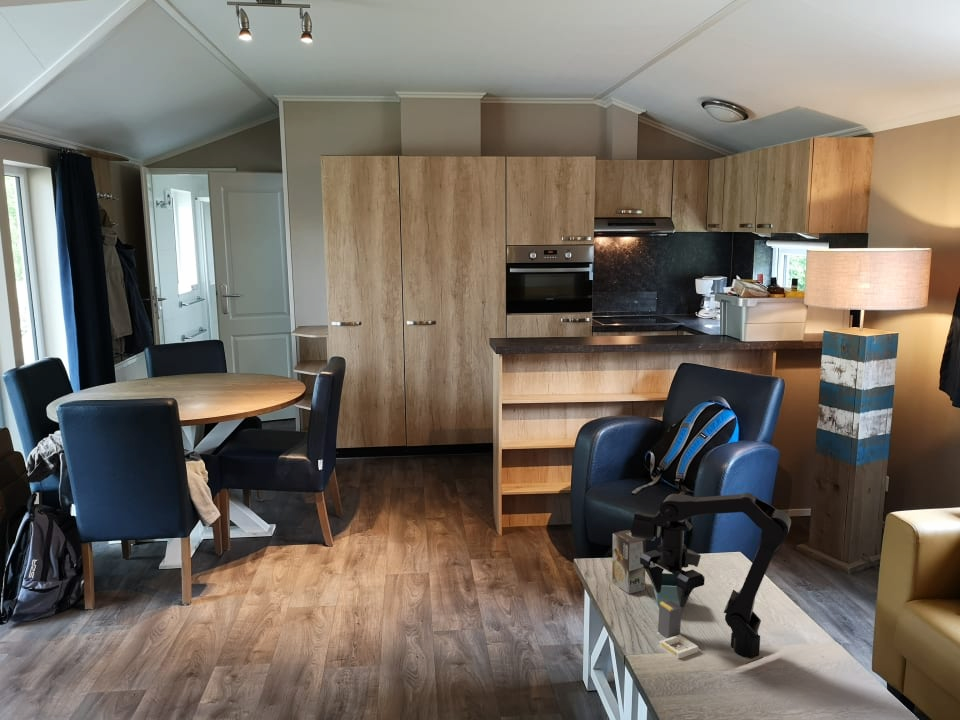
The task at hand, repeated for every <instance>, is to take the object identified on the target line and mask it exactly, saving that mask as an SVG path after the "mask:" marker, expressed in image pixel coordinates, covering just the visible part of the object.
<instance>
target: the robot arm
mask: <svg viewBox="0 0 960 720" xmlns="http://www.w3.org/2000/svg"><path fill="white" fill-rule="evenodd" d="M733 513H734V514H735V513H742V514H745V516H747V517H748V518H749V519H750V520H751V521H752V522H753V523H754V524H755V526H756V527H758V528H759V529H760V530H762V531H761V536H760V540H759V541H760V542H759V545H758V548H757V551H756V554H755V556H754V558H753V560H752V563H751V566H750V568H749V570H748V572H747V575H746V577H745V579H744V582H743V584H742V587H741V588H740V589H739V591H736V590H735V589H732V591H731V594H730V596H729V599H728V601H727V603H726V605H725V608H724V610H723V614H725V616H724V620H725V623H726V624H727V626H728V627H729V628H730V630H731V633H730V634H731V635H730V648H731V649H733V652H734V653H735V654H736V655H738V656H740V657H743V658H747V659H749V660H750V659H751V661H749V662H746V663H745V664H749V663H752V662H755V661H758V660H760V659H763V658H764V656H762V657H760V658H757V657H759V656H760V652H761V650H760V648H761V646H760V644H761V635H760V634H759V632H758V631H759V629H760V625H761V623H762V620H761V619H760V617H759V616H758V615H757V614H756V613H755V611H754V606H755V603H756V602H755V601H756V597H757V594H758V591H759V589H760V587H761V585H762V582H763V580H764V577H765V575H766V572H767V570H768V568H769V565H770V563H771V561H772V558H773V557H774V554H775V553H776V551H777V550H778V549H779V548H780V546H781V545H782V543H783V542H784V540H785V539H786V538H787V536H788V534H789V532H790V528H791V524H792V519H791V518H790V515H789V514H788V512H785V511H784V510H780V509H777V508H775V507H774V506H773V505H772V504H770V503H768V502H766V501H765V500H764V501H763V500H762V499H759V498H758V497H757V496H755V495H754V494H753V493H750V492H744V493H740V494H725V495H714V496H713V495H712V496H700V497H699V496H691V495H689V494H681V493H680V494H679V493H672V494H669V495H668V496H666V498H665V499H664V500H663V502H662V503H661V504H660V507H659V510H658V511H657V512H656V513H655V514H650V513H645V512H641V511H636V512H635V513H634V515H633V520H632V524H631V527H630V531H631V535H632V537H634V538H640V539H646V541H647V540H648V541H653V542H654V541H655V540H656V538H659V537H660V545H657V547H656V549H653V550H650V551H646V552H645V553H643V554H642V555H641V556H640V564H642V565H643V568H644V569H645V573H646V574H647V575H648V578H649V579H650V581H651V583H652V586H653V589H654V588H655V590H656V592H657V593H660V592H661V585H662V573H664V571H666V572H667V573H673V574H674V575H676V576H677V583H678V584H677V585H676V588H677V593H678V598H679V603H680V606H681V607H683V608H684V607H685V606H686V604H687V602H688V600H689V598H690V595H691V593H692V592H693V590H694V589H696V588H699V587H702V586H705V576H704V575H703V574H702V573H700V572H699V571H697V570H695V569H690V570H683V568H684V569H686V568H689V566H694V567H696V568H698V567H699V563H700V560H701V557H702V555H701V554H699V553H697V552H695V551H693V550H691V549H689V548H687V545H686V544H684V540H685V539H684V537H685V534H684V533H685V532H690V530H691V529H692V528H693V525H692V524H691V522H689V521H688V520H687V519H690V518H693V517H695V516H703V515H704V516H705V515H717V514H718V515H720V514H733ZM754 658H757V659H754ZM752 659H753V660H752Z"/></svg>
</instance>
